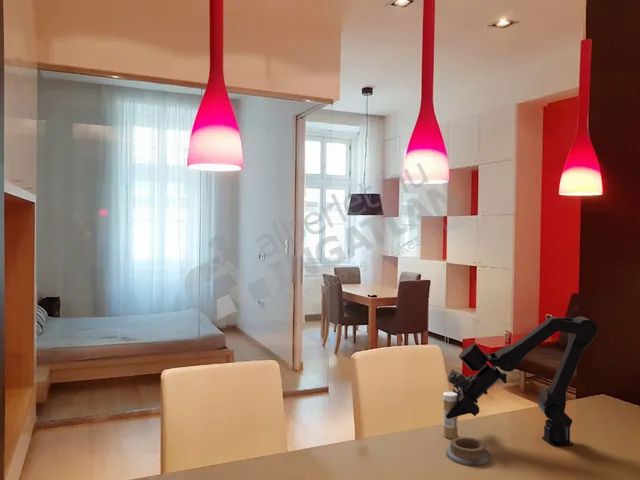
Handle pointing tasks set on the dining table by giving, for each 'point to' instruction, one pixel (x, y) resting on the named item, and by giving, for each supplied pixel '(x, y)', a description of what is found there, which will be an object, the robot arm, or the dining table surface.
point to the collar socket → (468, 451)
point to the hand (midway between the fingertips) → (445, 415)
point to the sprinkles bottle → (451, 423)
